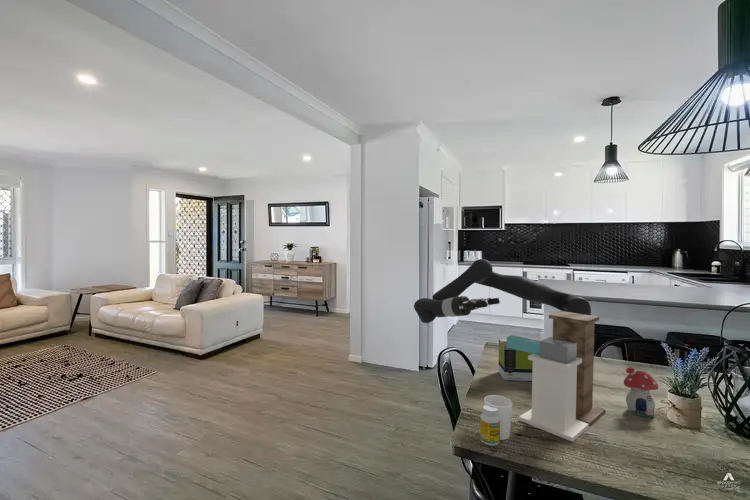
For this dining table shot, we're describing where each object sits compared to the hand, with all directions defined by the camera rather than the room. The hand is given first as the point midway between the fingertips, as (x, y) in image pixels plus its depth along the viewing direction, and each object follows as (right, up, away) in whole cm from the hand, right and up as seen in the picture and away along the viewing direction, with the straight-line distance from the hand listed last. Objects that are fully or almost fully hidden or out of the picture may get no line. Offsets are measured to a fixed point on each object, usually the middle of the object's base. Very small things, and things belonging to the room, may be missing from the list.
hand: (492, 302), depth 132 cm
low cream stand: (+13, -35, -19) cm, 42 cm away
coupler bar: (+9, -14, -16) cm, 23 cm away
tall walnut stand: (+23, -35, -10) cm, 43 cm away
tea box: (+17, -34, +20) cm, 43 cm away
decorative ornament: (+45, -35, -11) cm, 58 cm away
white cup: (-7, -36, -25) cm, 44 cm away
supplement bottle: (-10, -36, -29) cm, 47 cm away
